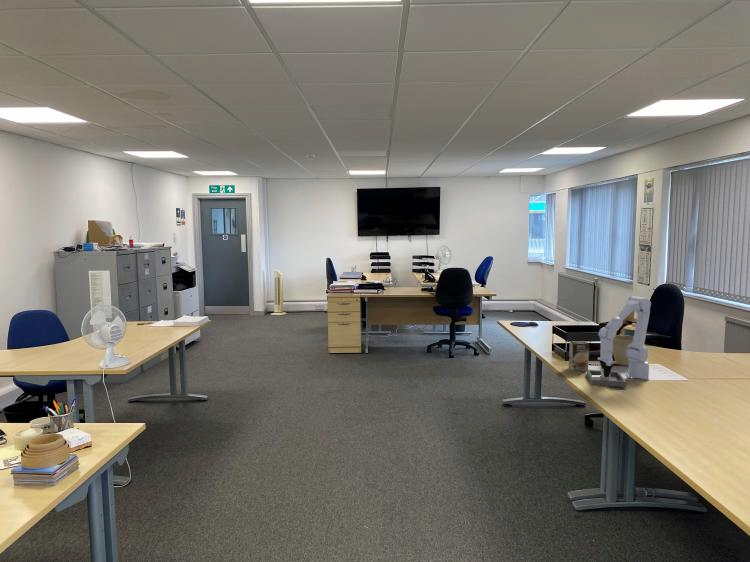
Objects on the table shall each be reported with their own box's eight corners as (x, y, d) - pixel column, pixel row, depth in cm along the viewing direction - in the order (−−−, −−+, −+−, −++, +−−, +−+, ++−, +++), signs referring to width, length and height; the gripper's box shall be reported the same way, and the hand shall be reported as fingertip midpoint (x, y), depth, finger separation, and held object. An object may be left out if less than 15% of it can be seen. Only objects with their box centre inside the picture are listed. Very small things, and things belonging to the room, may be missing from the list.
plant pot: (604, 360, 291) (605, 335, 290) (629, 360, 291) (630, 334, 289) (616, 367, 276) (617, 340, 275) (642, 367, 276) (643, 340, 274)
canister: (626, 345, 327) (627, 320, 325) (647, 348, 317) (648, 322, 315) (618, 348, 319) (619, 323, 317) (639, 352, 309) (640, 325, 307)
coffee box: (571, 371, 271) (572, 343, 270) (568, 367, 278) (569, 341, 276) (588, 371, 270) (589, 343, 269) (584, 368, 277) (585, 341, 275)
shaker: (609, 378, 254) (609, 368, 253) (610, 381, 250) (611, 370, 249) (599, 378, 256) (600, 367, 255) (601, 381, 251) (601, 370, 250)
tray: (618, 376, 259) (618, 371, 259) (625, 387, 242) (626, 381, 242) (586, 375, 264) (586, 369, 263) (591, 385, 246) (592, 379, 246)
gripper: (595, 346, 259) (595, 370, 260) (600, 353, 245) (599, 378, 247) (610, 347, 257) (609, 371, 258) (615, 354, 243) (614, 379, 245)
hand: (605, 375), depth 252 cm, fingers open, 5 cm apart
